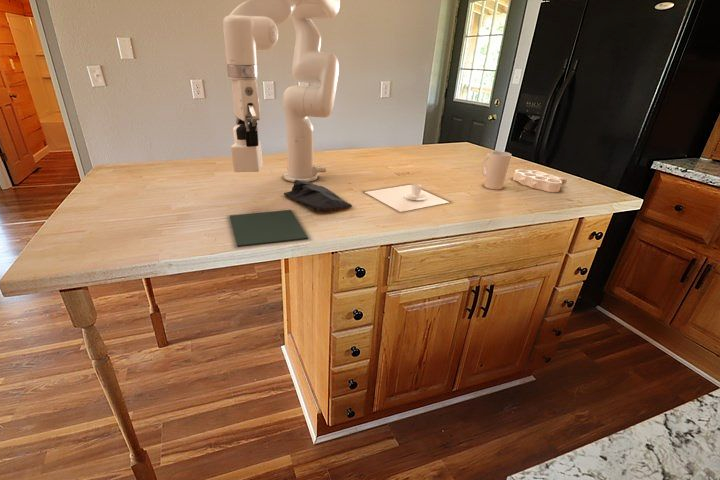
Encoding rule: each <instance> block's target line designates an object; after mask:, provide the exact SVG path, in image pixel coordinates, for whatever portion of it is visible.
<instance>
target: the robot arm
mask: <svg viewBox="0 0 720 480" xmlns="http://www.w3.org/2000/svg"><path fill="white" fill-rule="evenodd" d="M340 7H341V0H245V1H244V2H241V3H240V4H238V5H236V7H235V8H234V9H233V10H232V11H231V12H230V13H229V15H226V16H225V17H224V18H223V19H222V27H223V29H222V30H223V37H224V48H225V59H226V70H227V71H226V72H227V79H228V80H231V96H232V97H231V98H232V108H233V114H234V116H235V118H236V119H235V123H236V125H240V124H245V126H246V130H247V131H245V135H246V146H247V147H252V146H258V140H259V131H258V130H259V129H258V121H260V120H261V118H262V117H261V107H260V97H259V90H258V84H257V80H258V79H259V78H258V77H259V76H258V59H257V51H268V50H271V49H273V48H274V47H275V46H276V45H277V43H278V40H279V28H278V26H277V25H280V24H283V23H285V22H286V21H288V20H289V19H290V18H291V21H292V25H293V28H294V31H295V32H294V33H295V44H294V50H293V57H292V65H291V75H292V78H293V79H294V81H297V82H299V83H304V84H317V85H318V84H319V85H320V86H313V85H312V86H311V85H301V84H299V85H291V86H288V87H287V88H286V89H285V90H284V92H283V94H282V96H283V97H282V104H283V110H284V114H285V121H286V157H287V159H286V161H287V171H286V172H284V174H283V179H284V180H286V181H288V182H291V183H294V181H295V180H300V181H306V182H310V183H311V182H314V181H316V180H317V179H318V173H326V172H327V167H326V166H320V165H318V166H316V165H314V135H315V134H314V133H315V132H314V125H313V124H312V122H311V120H310V117H311V118H314V117H315V118H328V117H330V116H331V115H332V114H333V110H334V107H335V101H336V93H337V87H338V81H339V75H340V74H339V73H340V64H339V63H340V62H339V59H338V57H337V56H336V54H334V53H333V52H329V51H321V46H322V35H321V33H320V31H319V29H318V27H317V26H316V25H315V22H313V19H314V20H315V19H317V20H321V19H325V20H327V19H329V20H330V19H333V18H335V17H337V15H338V13H339V11H340ZM248 124H249V125H248Z"/></svg>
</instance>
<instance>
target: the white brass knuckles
mask: <svg viewBox="0 0 720 480" xmlns="http://www.w3.org/2000/svg"><path fill="white" fill-rule="evenodd" d="M512 180H513V181H515V182H518V183H519V184H520V185H523V186H526V187H529V188H531V189H536V190H541V191H545V192H547V193H559V192H560V190H561V188H562V187H563V186H565V185H566V184H567V183H568V180H567V179H566V178H565V177H560V176H556V175H554V174H552V173H547V172H543V171H540V170H539V169H536V170H528V169H515V171H514V173H513V176H512Z"/></svg>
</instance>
